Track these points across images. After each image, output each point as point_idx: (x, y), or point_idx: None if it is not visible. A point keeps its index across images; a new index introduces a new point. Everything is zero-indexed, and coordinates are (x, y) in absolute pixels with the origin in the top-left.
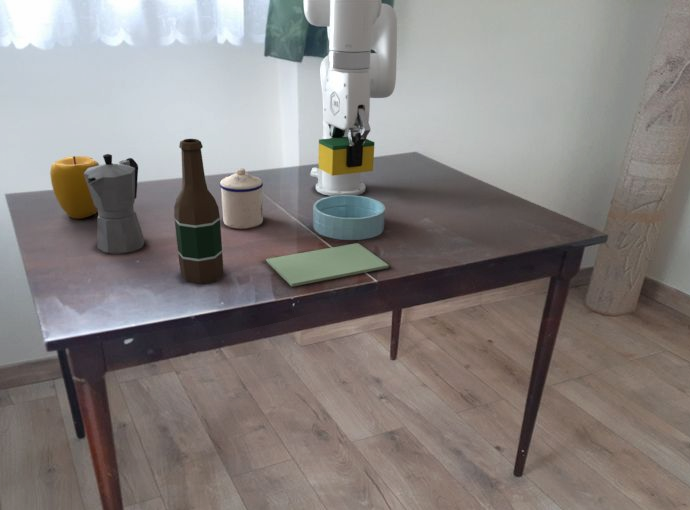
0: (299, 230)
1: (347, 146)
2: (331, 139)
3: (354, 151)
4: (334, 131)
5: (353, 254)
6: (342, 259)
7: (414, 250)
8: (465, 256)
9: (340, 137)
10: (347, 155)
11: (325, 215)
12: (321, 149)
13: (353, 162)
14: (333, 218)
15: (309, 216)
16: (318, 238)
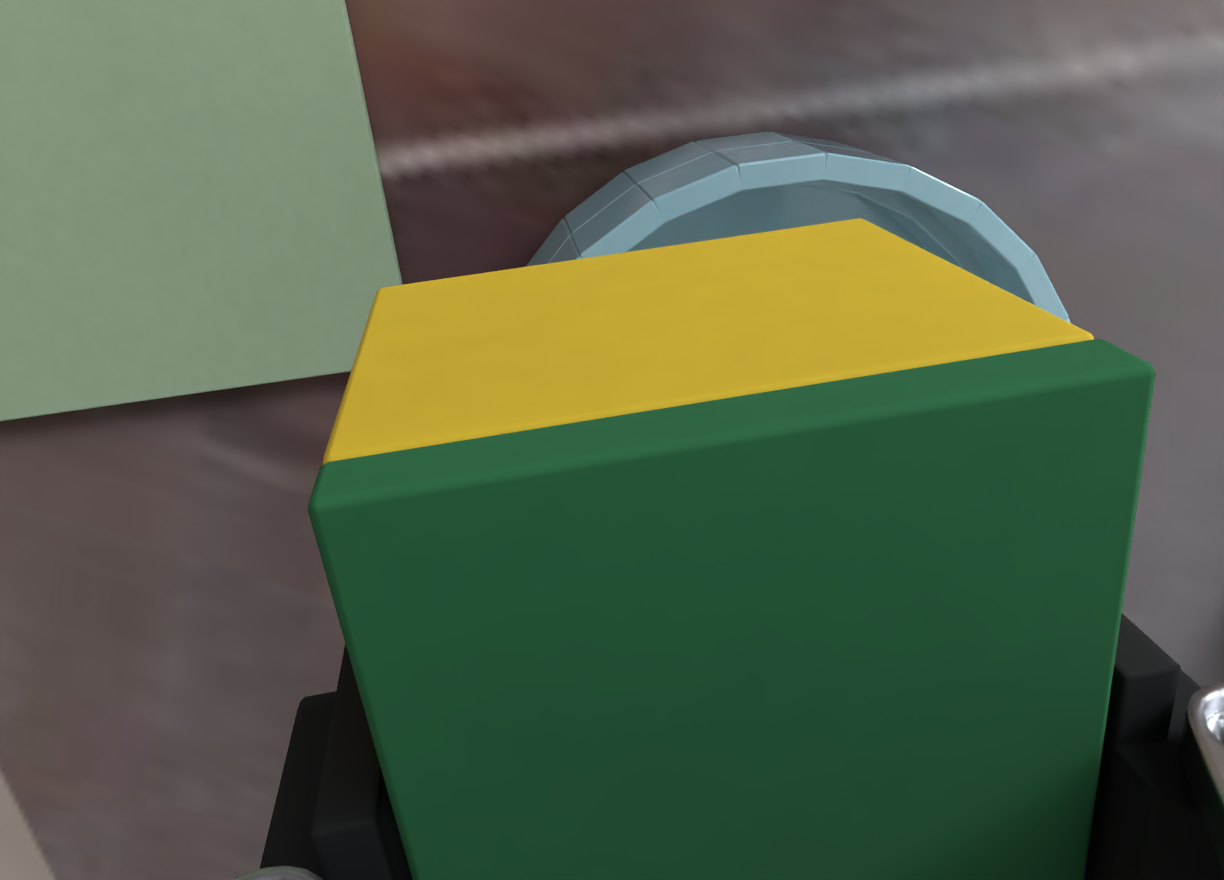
0: (850, 18)
1: (353, 814)
2: (1016, 651)
3: (274, 848)
4: (1220, 849)
5: (199, 254)
6: (106, 134)
7: (262, 661)
8: (124, 872)
9: (1102, 848)
10: (354, 686)
11: (653, 199)
12: (890, 322)
13: (315, 695)
14: (581, 251)
15: (1086, 204)
16: (638, 116)
